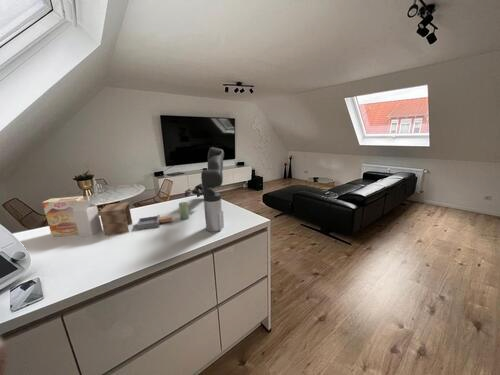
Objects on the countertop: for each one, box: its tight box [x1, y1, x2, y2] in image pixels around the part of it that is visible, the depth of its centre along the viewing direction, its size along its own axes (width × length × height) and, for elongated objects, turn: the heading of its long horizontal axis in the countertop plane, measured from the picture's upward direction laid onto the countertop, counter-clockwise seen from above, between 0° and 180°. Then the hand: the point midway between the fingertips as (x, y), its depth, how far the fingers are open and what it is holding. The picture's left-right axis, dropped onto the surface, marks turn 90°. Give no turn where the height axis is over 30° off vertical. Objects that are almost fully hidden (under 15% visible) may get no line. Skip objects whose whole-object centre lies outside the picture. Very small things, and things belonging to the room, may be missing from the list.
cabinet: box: [99, 201, 133, 237], centre depth 111 cm, size 11×12×14 cm
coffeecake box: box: [41, 195, 85, 238], centre depth 108 cm, size 15×7×20 cm, turn 105°
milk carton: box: [73, 200, 103, 238], centre depth 105 cm, size 7×7×19 cm
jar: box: [178, 201, 190, 221], centre depth 125 cm, size 5×5×10 cm
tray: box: [136, 214, 173, 230], centre depth 119 cm, size 18×12×3 cm, turn 111°
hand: (191, 195), depth 134 cm, fingers open, 8 cm apart
